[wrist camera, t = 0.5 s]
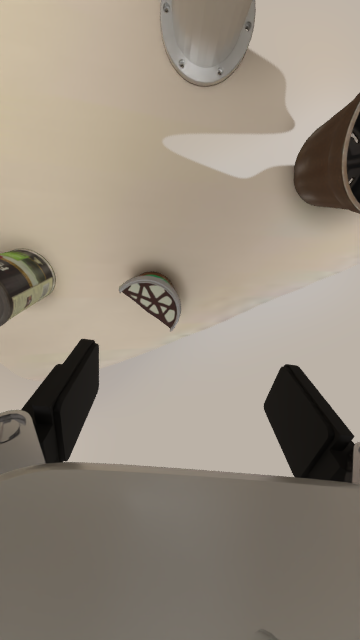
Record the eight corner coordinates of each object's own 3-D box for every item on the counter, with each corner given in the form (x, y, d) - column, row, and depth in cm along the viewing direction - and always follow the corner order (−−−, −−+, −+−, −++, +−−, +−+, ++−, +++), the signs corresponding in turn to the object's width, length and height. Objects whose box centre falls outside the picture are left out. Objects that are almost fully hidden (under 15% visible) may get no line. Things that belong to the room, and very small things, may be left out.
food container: (191, 291, 47) (195, 310, 38) (173, 311, 49) (172, 333, 40) (146, 252, 43) (138, 262, 34) (128, 275, 45) (116, 291, 36)
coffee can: (-4, 245, 42) (-81, 260, 29) (51, 251, 43) (-1, 267, 30) (9, 296, 46) (-53, 327, 34) (59, 300, 47) (16, 332, 34)
